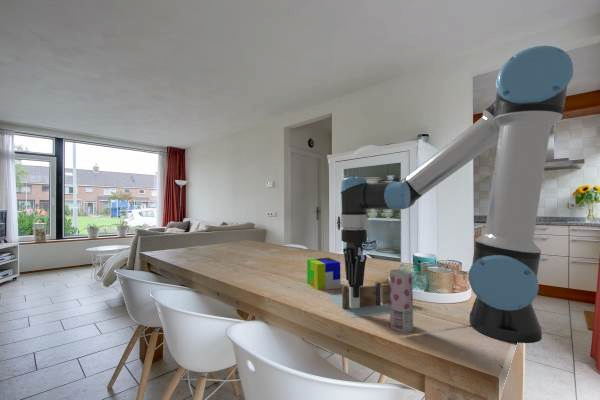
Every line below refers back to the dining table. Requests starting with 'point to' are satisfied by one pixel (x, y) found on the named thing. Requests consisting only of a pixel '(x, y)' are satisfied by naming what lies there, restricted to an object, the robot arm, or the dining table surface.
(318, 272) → the puzzle toy
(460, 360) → the dining table surface
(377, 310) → the card
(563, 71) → the robot arm
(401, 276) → the beverage can
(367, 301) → the fence panel
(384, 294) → the fence fixed
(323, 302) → the dining table surface
